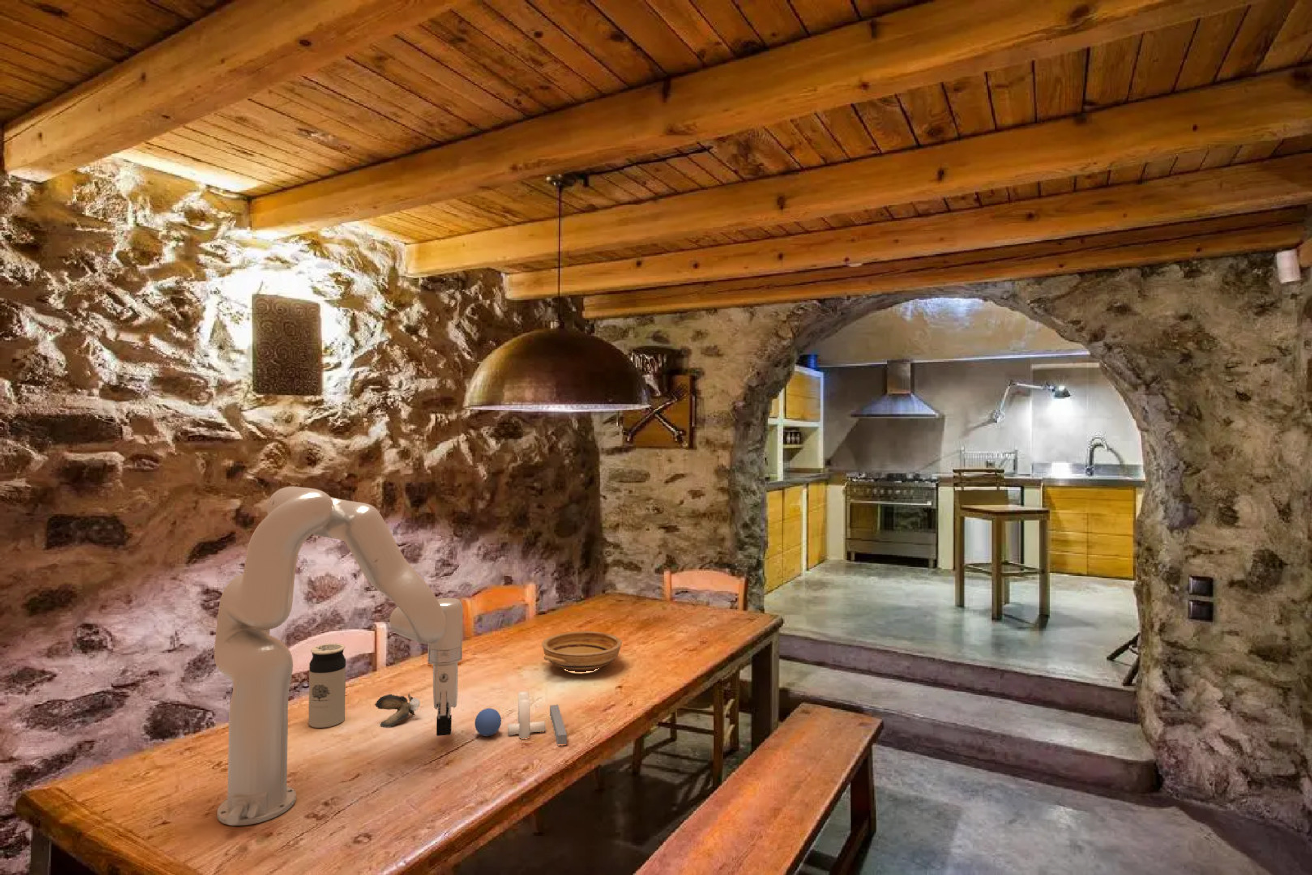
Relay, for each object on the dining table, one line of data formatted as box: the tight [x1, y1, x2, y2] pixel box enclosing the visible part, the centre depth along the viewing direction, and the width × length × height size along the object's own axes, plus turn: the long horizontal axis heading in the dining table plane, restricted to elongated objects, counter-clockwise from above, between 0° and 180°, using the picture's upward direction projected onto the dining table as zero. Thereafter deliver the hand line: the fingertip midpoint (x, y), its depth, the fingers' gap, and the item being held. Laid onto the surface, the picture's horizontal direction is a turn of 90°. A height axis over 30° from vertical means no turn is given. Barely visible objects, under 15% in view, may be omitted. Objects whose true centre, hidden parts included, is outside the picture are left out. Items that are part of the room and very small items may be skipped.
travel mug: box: [308, 643, 347, 729], centre depth 165 cm, size 8×8×18 cm
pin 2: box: [518, 699, 531, 739], centre depth 158 cm, size 2×2×8 cm
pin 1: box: [517, 690, 530, 724], centre depth 162 cm, size 2×2×8 cm
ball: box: [474, 707, 502, 737], centre depth 159 cm, size 6×6×6 cm
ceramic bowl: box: [541, 630, 623, 672], centre depth 207 cm, size 30×24×8 cm
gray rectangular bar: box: [549, 704, 568, 744], centre depth 162 cm, size 18×2×2 cm, turn 15°
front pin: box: [507, 720, 546, 736], centre depth 160 cm, size 2×2×8 cm
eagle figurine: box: [374, 693, 421, 728], centre depth 167 cm, size 8×7×9 cm
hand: (443, 733), depth 155 cm, fingers closed
